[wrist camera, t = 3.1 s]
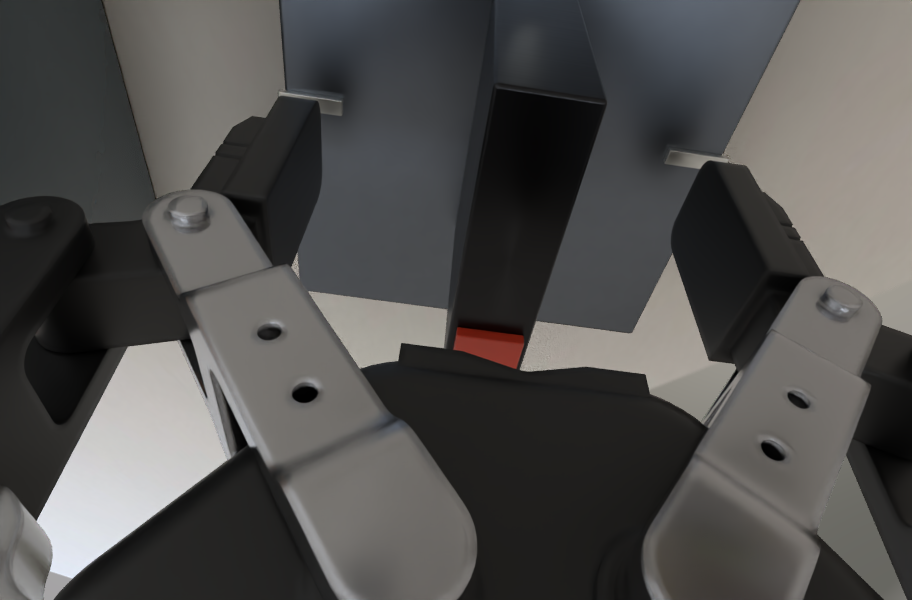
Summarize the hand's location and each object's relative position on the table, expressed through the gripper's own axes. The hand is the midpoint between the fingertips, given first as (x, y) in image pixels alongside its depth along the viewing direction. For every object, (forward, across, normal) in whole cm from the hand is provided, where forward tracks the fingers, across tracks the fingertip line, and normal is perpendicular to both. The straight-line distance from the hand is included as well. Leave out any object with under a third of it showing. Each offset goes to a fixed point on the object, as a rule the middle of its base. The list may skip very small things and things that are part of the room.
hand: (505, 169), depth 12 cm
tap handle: (+1, 0, 0) cm, 1 cm away
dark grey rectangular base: (+4, 0, 0) cm, 4 cm away
